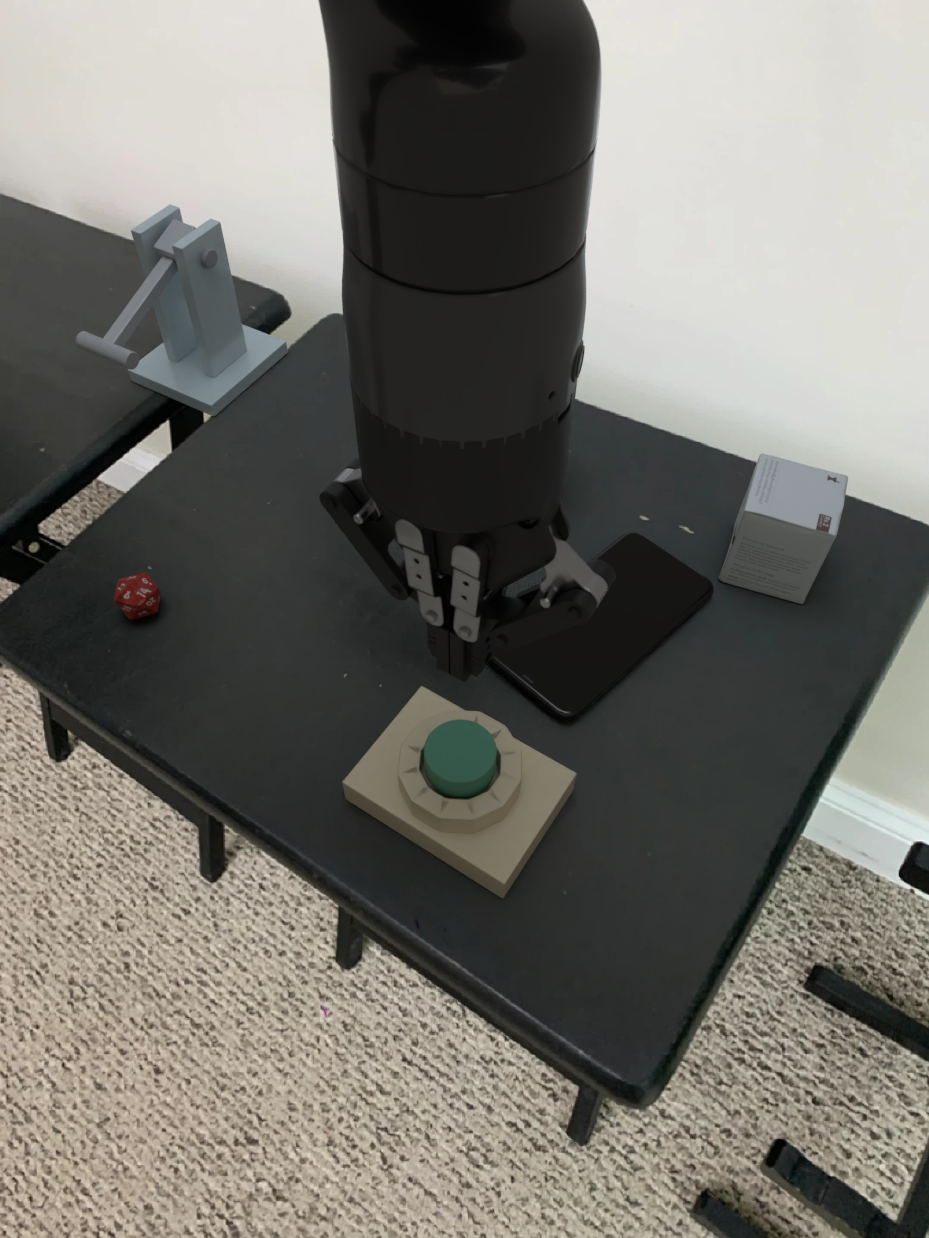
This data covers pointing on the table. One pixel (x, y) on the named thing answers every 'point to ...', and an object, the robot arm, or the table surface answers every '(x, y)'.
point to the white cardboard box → (784, 528)
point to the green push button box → (461, 826)
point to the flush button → (460, 758)
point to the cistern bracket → (199, 322)
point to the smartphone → (609, 629)
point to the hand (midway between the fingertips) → (462, 662)
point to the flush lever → (138, 303)
